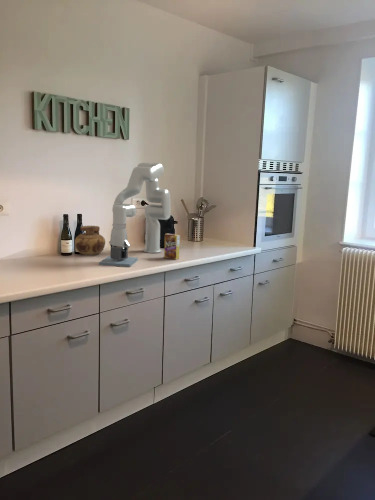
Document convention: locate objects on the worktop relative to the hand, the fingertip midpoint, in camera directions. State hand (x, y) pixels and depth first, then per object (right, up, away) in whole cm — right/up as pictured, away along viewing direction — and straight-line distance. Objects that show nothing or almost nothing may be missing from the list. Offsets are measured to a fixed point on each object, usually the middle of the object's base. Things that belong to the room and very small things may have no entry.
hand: (119, 256), depth 256 cm
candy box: (+30, -2, +18) cm, 35 cm away
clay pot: (-22, +1, +22) cm, 31 cm away
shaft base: (0, -3, +1) cm, 4 cm away
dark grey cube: (0, -1, 0) cm, 1 cm away
